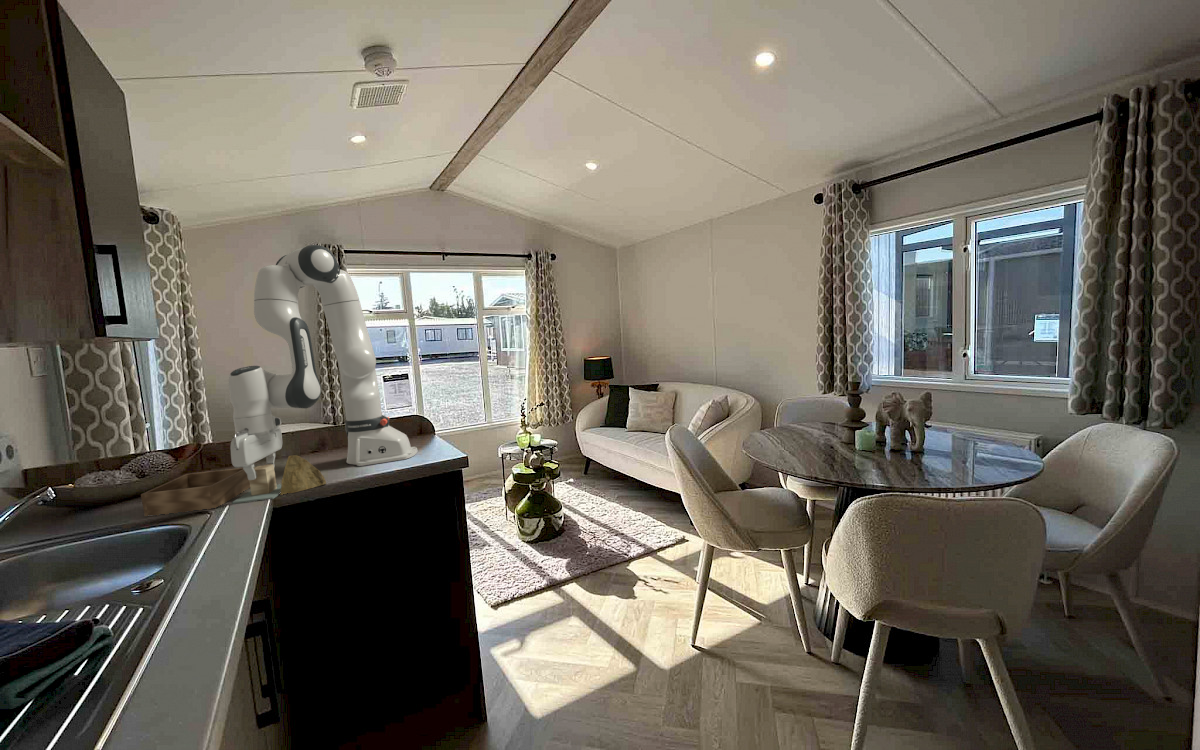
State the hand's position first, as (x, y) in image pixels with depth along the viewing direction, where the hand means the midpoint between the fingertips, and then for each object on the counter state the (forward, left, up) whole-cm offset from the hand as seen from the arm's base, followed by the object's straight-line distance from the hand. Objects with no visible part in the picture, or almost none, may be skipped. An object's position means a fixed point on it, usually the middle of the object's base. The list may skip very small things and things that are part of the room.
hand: (262, 474), depth 140 cm
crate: (+16, 0, -6) cm, 17 cm away
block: (0, 0, -5) cm, 5 cm away
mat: (0, 0, -6) cm, 6 cm away
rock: (-10, 0, -6) cm, 12 cm away
